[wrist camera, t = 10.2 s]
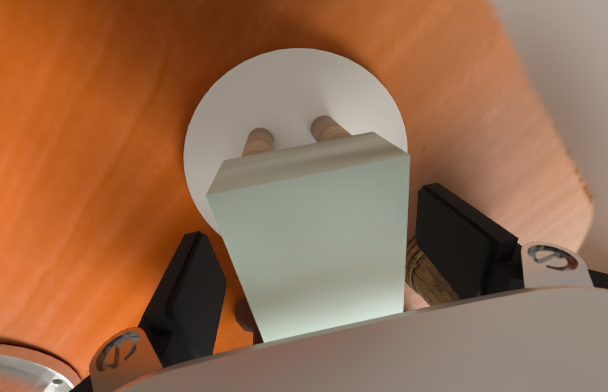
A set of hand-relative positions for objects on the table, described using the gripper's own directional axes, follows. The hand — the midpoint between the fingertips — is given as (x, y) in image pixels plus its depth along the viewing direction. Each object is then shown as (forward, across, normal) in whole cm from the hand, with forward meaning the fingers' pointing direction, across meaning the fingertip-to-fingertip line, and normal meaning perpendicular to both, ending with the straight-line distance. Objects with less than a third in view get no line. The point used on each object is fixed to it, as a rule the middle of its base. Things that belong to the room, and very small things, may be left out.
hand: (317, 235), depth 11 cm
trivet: (+8, 0, 0) cm, 8 cm away
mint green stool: (+7, 0, 0) cm, 7 cm away
